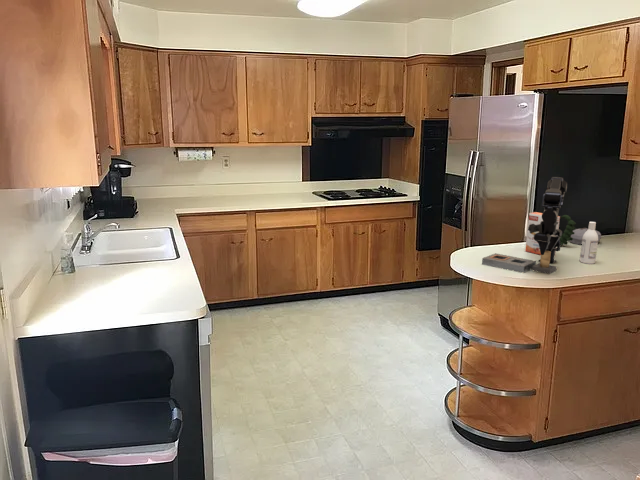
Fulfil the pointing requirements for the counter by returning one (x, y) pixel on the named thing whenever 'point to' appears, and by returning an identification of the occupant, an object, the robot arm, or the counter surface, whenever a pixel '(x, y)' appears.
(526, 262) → the plate
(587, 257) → the bath foam
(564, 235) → the toy figurine
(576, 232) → the grey rounded bag
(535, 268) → the grey square base
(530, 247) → the cracker box
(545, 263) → the barrel peg
